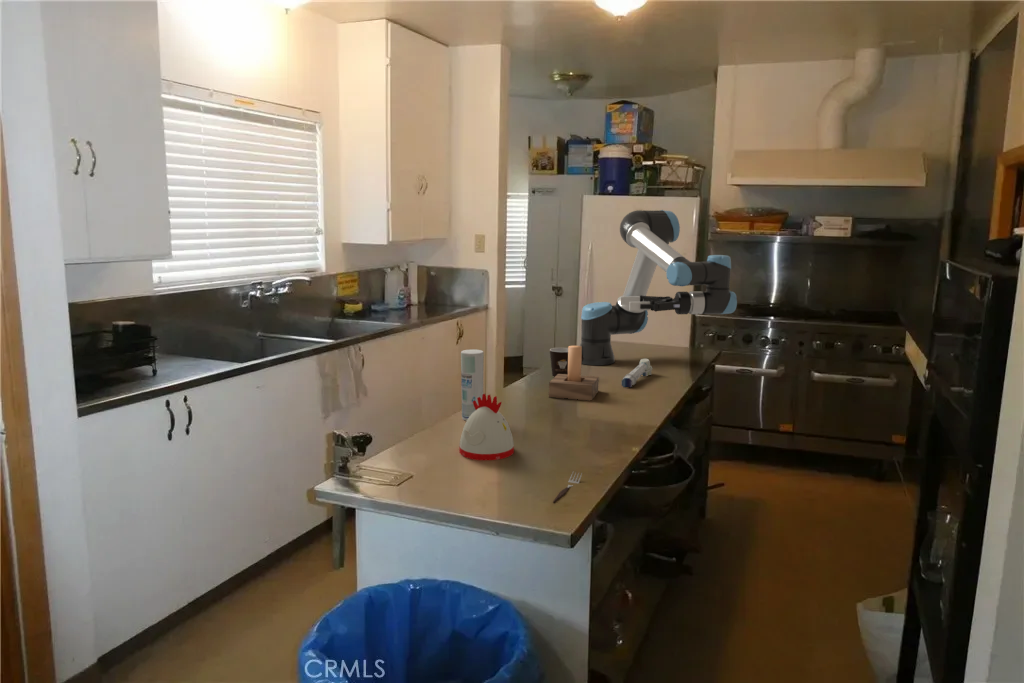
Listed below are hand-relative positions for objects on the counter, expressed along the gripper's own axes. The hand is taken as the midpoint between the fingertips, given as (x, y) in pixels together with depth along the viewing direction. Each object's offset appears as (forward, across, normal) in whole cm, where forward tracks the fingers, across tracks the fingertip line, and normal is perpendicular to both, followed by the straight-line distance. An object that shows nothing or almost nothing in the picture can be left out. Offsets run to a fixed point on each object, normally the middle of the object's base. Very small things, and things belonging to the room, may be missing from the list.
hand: (624, 303), depth 246 cm
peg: (+16, -2, -30) cm, 34 cm away
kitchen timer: (+48, -58, -30) cm, 81 cm away
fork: (+31, -86, -31) cm, 96 cm away
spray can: (+51, -28, -30) cm, 65 cm away
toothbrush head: (-9, +17, -30) cm, 36 cm away
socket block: (+16, -2, -30) cm, 34 cm away
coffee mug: (+16, +23, -30) cm, 41 cm away
